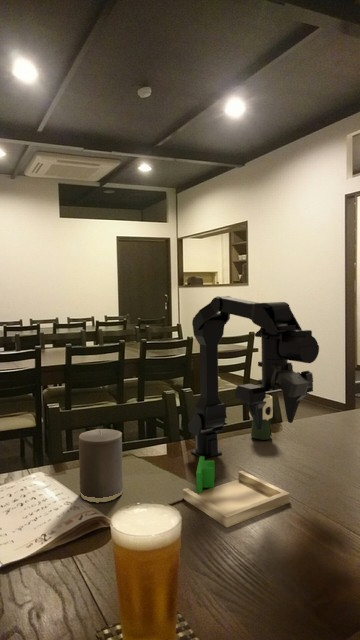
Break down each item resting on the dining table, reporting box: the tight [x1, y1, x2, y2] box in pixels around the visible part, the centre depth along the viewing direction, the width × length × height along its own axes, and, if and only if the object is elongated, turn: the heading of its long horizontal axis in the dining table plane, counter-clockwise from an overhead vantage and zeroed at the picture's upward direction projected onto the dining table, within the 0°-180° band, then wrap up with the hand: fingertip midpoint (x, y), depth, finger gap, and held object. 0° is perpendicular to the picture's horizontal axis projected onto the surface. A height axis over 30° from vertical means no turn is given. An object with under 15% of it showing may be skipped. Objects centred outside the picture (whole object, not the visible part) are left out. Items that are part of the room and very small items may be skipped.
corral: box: [182, 470, 291, 528], centre depth 96 cm, size 15×17×2 cm
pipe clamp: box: [195, 456, 216, 493], centre depth 105 cm, size 11×4×5 cm, turn 173°
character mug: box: [248, 394, 274, 441], centre depth 136 cm, size 11×7×13 cm, turn 153°
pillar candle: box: [78, 428, 124, 498], centre depth 101 cm, size 10×10×15 cm
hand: (275, 426), depth 101 cm, fingers open, 9 cm apart
